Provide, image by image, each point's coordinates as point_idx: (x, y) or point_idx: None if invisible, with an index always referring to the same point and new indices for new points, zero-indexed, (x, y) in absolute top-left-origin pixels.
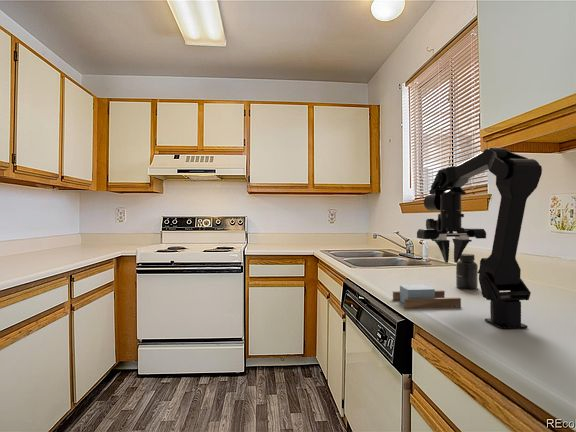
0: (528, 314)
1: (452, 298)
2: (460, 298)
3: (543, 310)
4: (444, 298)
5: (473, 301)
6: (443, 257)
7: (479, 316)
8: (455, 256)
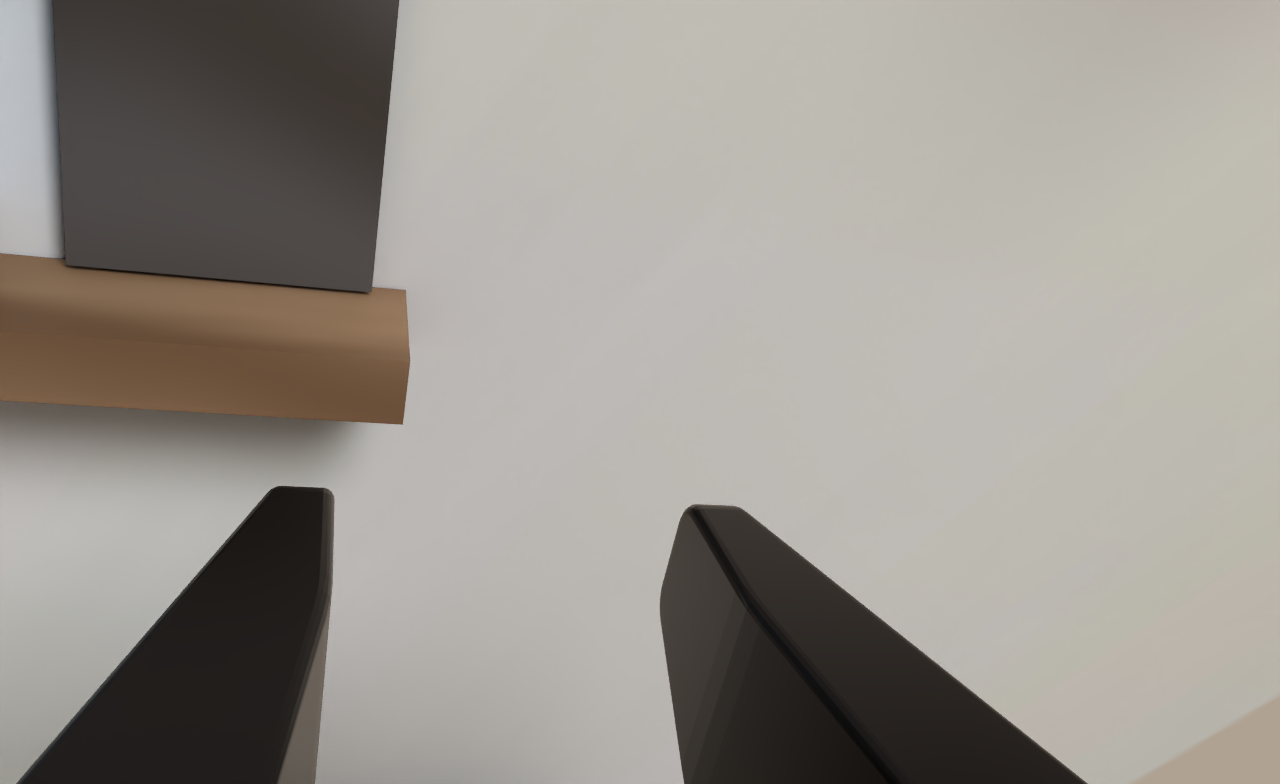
0: None
1: (247, 412)
2: (397, 421)
3: (1205, 585)
4: (93, 390)
5: (856, 88)
6: (181, 625)
7: (357, 696)
8: (730, 747)
